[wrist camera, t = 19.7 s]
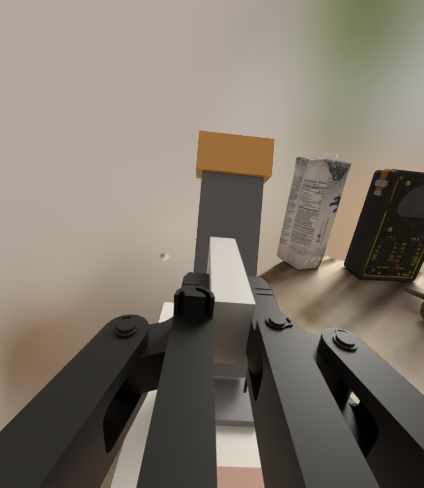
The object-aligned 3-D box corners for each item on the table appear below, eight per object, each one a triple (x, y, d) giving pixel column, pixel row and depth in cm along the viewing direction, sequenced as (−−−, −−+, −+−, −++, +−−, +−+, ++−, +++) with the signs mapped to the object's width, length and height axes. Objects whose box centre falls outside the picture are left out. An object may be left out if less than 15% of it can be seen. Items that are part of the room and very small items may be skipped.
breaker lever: (256, 381, 18) (274, 139, 18) (177, 376, 17) (199, 130, 18) (249, 365, 20) (265, 151, 21) (180, 361, 20) (199, 144, 20)
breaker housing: (330, 688, 11) (377, 646, 9) (78, 693, 11) (59, 648, 8) (250, 345, 32) (258, 304, 30) (163, 339, 31) (164, 298, 29)
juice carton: (296, 272, 55) (328, 150, 45) (271, 255, 64) (293, 150, 54) (325, 269, 58) (359, 155, 48) (296, 253, 67) (321, 154, 58)
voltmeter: (359, 281, 54) (401, 169, 45) (337, 265, 62) (369, 167, 53) (419, 284, 56) (470, 177, 47) (390, 268, 64) (429, 173, 55)
